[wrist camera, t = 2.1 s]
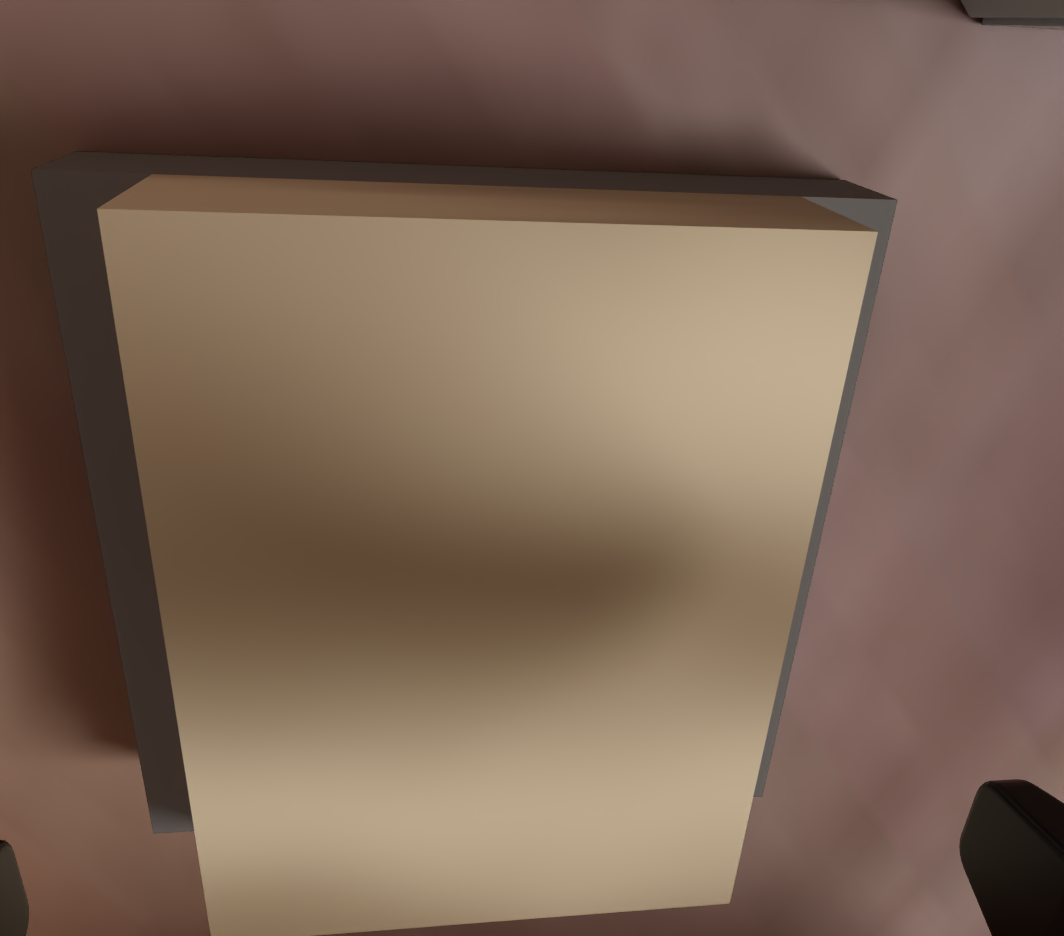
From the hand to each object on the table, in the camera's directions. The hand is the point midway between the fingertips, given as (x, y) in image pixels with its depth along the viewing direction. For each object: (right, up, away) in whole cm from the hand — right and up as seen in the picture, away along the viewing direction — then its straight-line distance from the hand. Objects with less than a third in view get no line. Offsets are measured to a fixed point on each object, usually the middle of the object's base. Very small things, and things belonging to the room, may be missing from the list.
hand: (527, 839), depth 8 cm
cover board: (-1, +2, +4) cm, 5 cm away
